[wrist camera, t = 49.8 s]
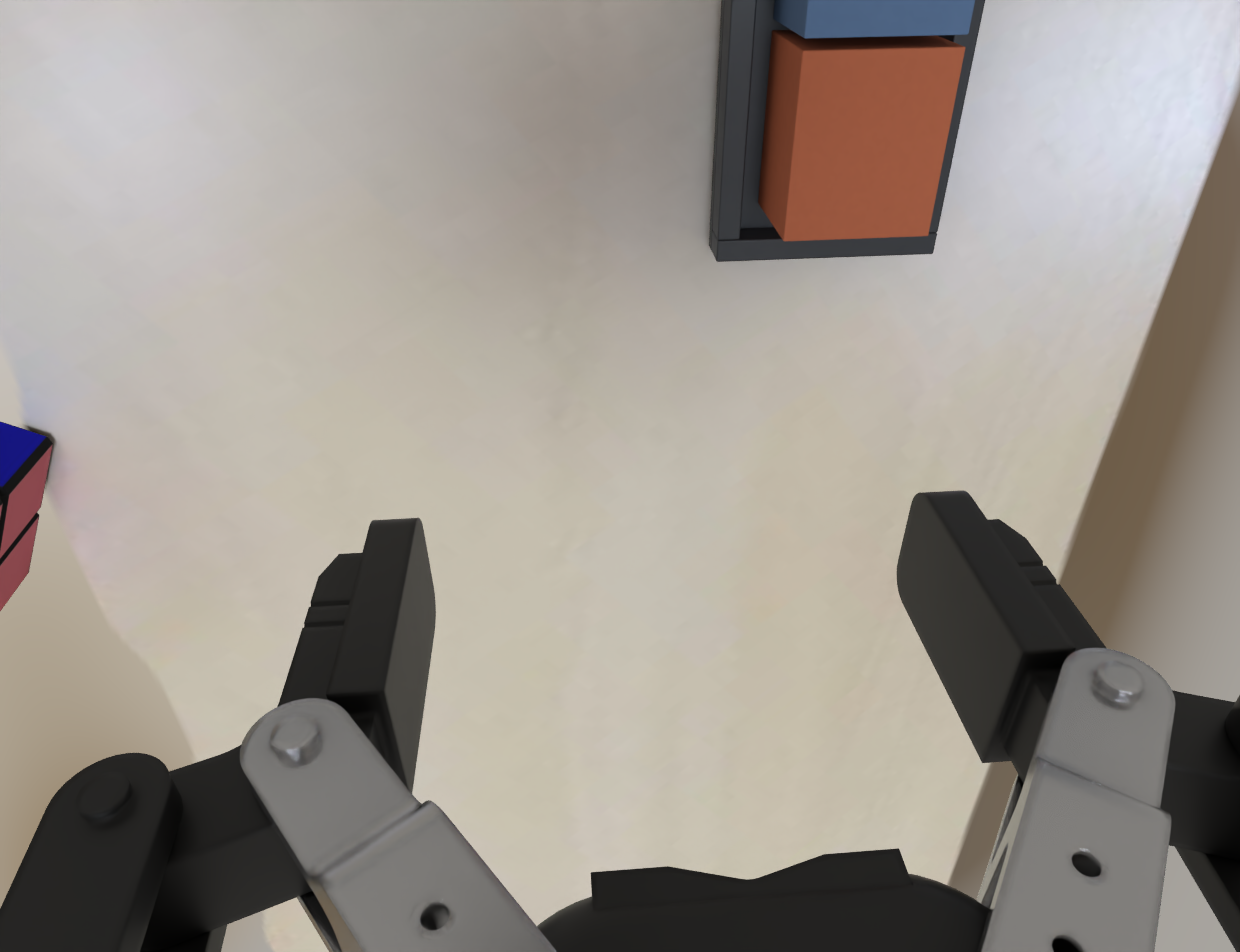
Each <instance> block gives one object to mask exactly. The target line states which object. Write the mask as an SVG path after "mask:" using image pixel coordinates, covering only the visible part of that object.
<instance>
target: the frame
mask: <svg viewBox="0 0 1240 952" xmlns="http://www.w3.org/2000/svg"><path fill="white" fill-rule="evenodd" d="M984 3H985V0H975V3H974V8H973V13H972V19H971V24H970V29H969V33H968V34H967V35H937V36H939V37H942V38H944V39H947V40H949V41H952V42H954V43H957V44H959V45H962V46H964V47H965V53H964V58H963V63H962V68H961V73H960V78H959V83H958V88H957V93H956V98H955V103H954V108H953V113H952V118H951V123H950V128H949V133H948V138H947V143H946V148H945V153H944V158H943V163H942V169H941V174H940V179H939V184H938V189H937V194H936V199H935V204H934V209H933V214H932V219H931V224H930V229H929V234H928V236H916V237H889V238H862V239H835V240H808V241H783V240H782V238H781V237H780V235H779V234H778V232H777V231H776V229H775V228H774V226H773V225H772V223H771V222H770V220H769V219H768V217H767V216H766V214H765V213H764V211H763V210H762V208H761V207H760V205H759V204H758V197H759V185H760V172H761V160H762V148H763V135H764V123H765V111H766V99H767V86H768V74H769V62H770V50H771V37H772V31H773V30H790V29H789V28H787V27H786V26H784V25H782V24H781V23H779V22H777V21H776V20H774V19H773V16H774V4H775V0H722V8H721V27H720V47H719V66H718V85H717V104H716V123H715V142H714V161H713V180H712V200H711V219H710V238H709V246H710V248H711V250H712V252H713V254H714V257H715V259H716V261H718V262H721V261H749V260H776V259H803V258H831V257H858V256H885V255H913V254H932V253H933V250H934V245H935V240H936V236H937V233H936V232H937V231H938V226H939V221H940V216H941V211H942V207H943V202H944V197H945V192H946V187H947V182H948V177H949V173H950V168H951V163H952V158H953V153H954V148H955V144H956V139H957V134H958V129H959V124H960V119H961V114H962V110H963V105H964V100H965V95H966V90H967V85H968V80H969V76H970V71H971V66H972V61H973V56H974V51H975V46H976V42H977V37H978V32H979V27H980V22H981V17H982V13H983V8H984Z"/></svg>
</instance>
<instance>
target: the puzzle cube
mask: <svg viewBox="0 0 1240 952" xmlns="http://www.w3.org/2000/svg"><path fill="white" fill-rule="evenodd" d="M52 445H53V443H52V442H51V440H50V439H49V438H48V437H47V436H43V435H40V434H37V433H34V432H31V431H28V430H25V429H22V428H19V427H16V426H12V425H9V424H6V423H3V422H0V611H1V610H2V608H3V607H4V606H5V604H6V603H7V601H8V600H9V599H10V597H11V596H12V594H13V593H14V592H15V590H16V589H17V588H18V586H19V585H20V583H21V582H22V581H23V580H24V578H25V577H26V575H27V574H28V573H29V567H30V562H31V557H32V552H33V546H34V541H35V535H36V530H37V525H38V520H39V514H38V513H37V511H38V510H39V508H40V507H41V503H42V498H43V493H44V488H45V483H46V477H47V472H48V467H49V461H50V456H51V451H52Z"/></svg>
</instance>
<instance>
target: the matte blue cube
mask: <svg viewBox="0 0 1240 952" xmlns="http://www.w3.org/2000/svg"><path fill="white" fill-rule="evenodd" d="M974 3H975V0H775V4H774V16H773V19H774V20H776V21H777V22H779V23H781V24H782V25H784V26H786V27H787V28H789V29H790V30H792V31H794V32H795V33H797V34H798V35H800V36H802V37H803V38H805V39H808V38H851V37H894V36H937V35H967V34H968V33H969V29H970V24H971V19H972V13H973V8H974Z"/></svg>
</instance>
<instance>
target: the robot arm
mask: <svg viewBox="0 0 1240 952" xmlns="http://www.w3.org/2000/svg"><path fill="white" fill-rule="evenodd" d="M897 585H898V591H899V595H900V598H901V600H902V603H903V605H904V607H905V609H906V611H907V613H908V615H909V617H910V619H911V621H912V623H913V625H914V627H915V629H916V631H917V633H918V635H919V637H920V639H921V641H922V643H923V645H924V647H925V649H926V651H927V653H928V655H929V657H930V659H931V661H932V663H933V665H934V667H935V669H936V671H937V673H938V675H939V677H940V679H941V681H942V683H943V685H944V687H945V689H946V691H947V693H948V695H949V697H950V699H951V701H952V703H953V705H954V707H955V709H956V711H957V713H958V715H959V717H960V719H961V721H962V723H963V725H964V727H965V729H966V731H967V733H968V735H969V737H970V739H971V741H972V743H973V745H974V747H975V749H976V751H977V753H978V755H979V757H980V759H981V761H982V763H989V762H1003V761H1012V763H1013V765H1014V767H1015V769H1016V771H1017V772H1018V775H1017V777H1016V780H1015V782H1014V785H1013V787H1012V791H1011V793H1010V797H1009V800H1008V803H1007V806H1006V809H1005V813H1004V816H1003V819H1002V822H1001V825H1000V829H999V832H998V835H997V838H996V842H995V844H994V848H993V851H992V854H991V857H990V861H989V864H988V867H987V870H986V873H985V876H984V880H983V883H982V885H981V888H980V891H979V894H978V897H977V899H976V900H975V899H974V898H972V897H970V896H968V895H966V894H964V893H962V892H960V891H958V890H956V889H954V888H952V887H950V886H947V885H945V884H942V883H940V882H938V881H935V880H931V879H928V878H924V877H921V876H918V875H913V874H908V872H907V869H906V867H905V864H904V861H903V858H902V856H901V853H900V850H899V849H888V850H875V851H862V852H849V853H836V854H824V855H821V856H819V857H816V858H813V859H810V860H807V861H805V862H802V863H799V864H796V865H793V866H791V867H788V868H785V869H782V870H779V871H777V872H774V873H771V874H768V875H765V876H763V877H760V878H756V879H750V880H745V879H738V878H732V877H726V876H720V875H714V874H708V873H703V872H697V871H691V870H685V869H679V868H673V867H656V868H643V869H630V870H617V871H604V872H591V885H592V897H589V898H586V899H584V900H581V901H578V902H576V903H574V904H572V905H570V906H568V907H566V908H564V909H562V910H560V911H558V912H556V913H555V914H553V915H552V916H550V917H549V918H547V919H546V920H544V921H543V922H542V923H540V924H539V925H538V926H536V925H535V924H534V923H533V921H532V920H531V919H530V918H529V916H528V915H527V914H526V913H525V912H524V910H523V909H522V908H521V907H520V905H519V904H518V903H517V902H516V900H515V899H514V898H513V897H512V896H511V894H510V893H509V892H508V891H507V889H506V888H505V887H504V886H503V884H502V883H501V882H500V881H499V879H498V878H497V877H496V876H495V875H494V873H493V872H492V871H491V870H490V868H489V867H488V866H487V865H486V863H485V862H484V861H483V860H482V859H481V857H480V856H479V855H478V854H477V852H476V851H475V850H474V849H473V847H472V846H471V845H470V844H469V843H468V841H467V840H466V839H465V838H464V836H463V835H462V834H461V833H460V831H459V830H458V829H457V828H456V827H455V825H454V824H453V823H452V822H451V820H450V819H449V818H448V817H447V815H446V814H445V813H444V812H443V811H442V810H441V809H440V808H439V807H438V806H437V805H436V804H435V803H434V802H432V801H429V800H428V801H426V802H424V803H423V804H421V803H420V802H419V801H418V800H417V799H416V798H415V797H414V796H413V795H412V790H413V783H414V776H415V768H416V761H417V754H418V747H419V739H420V732H421V725H422V718H423V711H424V703H425V696H426V689H427V682H428V674H429V667H430V660H431V653H432V646H433V638H434V631H435V618H436V608H435V593H434V586H433V581H432V575H431V569H430V564H429V558H428V553H427V547H426V541H425V536H424V530H423V525H422V522H421V520H420V518H409V519H390V520H373V521H372V522H371V524H370V526H369V530H368V534H367V538H366V541H365V545H364V549H363V553H351V554H339V555H338V556H337V557H336V558H335V559H334V560H333V561H332V563H331V564H330V565H329V566H328V567H327V568H326V569H325V570H324V572H323V573H322V574H321V575H320V576H319V577H318V581H317V584H316V587H315V590H314V593H313V596H312V600H311V607H309V609H308V612H307V616H306V619H305V622H304V624H305V627H304V628H302V631H301V635H300V638H299V641H298V644H297V647H296V651H295V654H294V657H293V660H292V663H291V667H290V670H289V673H288V676H287V679H286V682H285V686H284V689H283V692H282V695H281V698H280V702H279V704H278V707H277V708H275V709H273V710H271V711H270V712H268V713H267V714H265V715H264V716H263V717H261V718H260V719H259V720H258V721H257V722H256V723H255V724H254V725H253V726H252V727H251V729H250V730H249V731H248V733H247V734H246V736H245V738H244V740H243V742H242V745H240V746H238V747H236V748H234V749H232V750H230V751H228V752H226V753H223V754H221V755H218V756H215V757H212V758H209V759H206V760H203V761H200V762H197V763H194V764H191V765H188V766H185V767H182V768H179V769H176V770H173V771H170V772H169V771H168V769H167V768H166V766H165V764H164V763H163V762H161V761H160V760H159V759H157V758H156V757H153V756H151V755H147V754H142V753H126V754H121V755H115V756H112V757H109V758H106V759H103V760H101V761H98V762H96V763H94V764H92V765H90V766H88V767H86V768H85V769H83V770H82V771H80V772H79V773H77V774H76V775H75V776H73V777H72V778H71V779H70V780H68V781H67V782H66V783H65V784H64V785H63V786H62V787H61V788H60V789H59V790H58V792H57V793H56V794H55V795H54V797H53V798H52V799H51V801H50V803H49V805H48V806H47V808H46V810H45V813H44V815H43V817H42V819H41V821H40V824H39V826H38V828H37V830H36V832H35V834H34V837H33V839H32V841H31V843H30V845H29V848H28V850H27V852H26V854H25V856H24V858H23V860H22V863H21V865H20V867H19V869H18V871H17V874H16V876H15V878H14V880H13V883H12V884H11V887H10V889H9V891H8V893H7V895H6V898H5V900H4V902H3V904H2V906H1V908H0V952H221V948H222V944H223V940H224V936H225V932H226V927H227V924H229V923H232V922H234V921H237V920H239V919H242V918H244V917H247V916H250V915H252V914H255V913H257V912H260V911H262V910H265V909H268V908H270V907H273V906H275V905H278V904H280V903H283V902H285V901H288V900H290V899H293V898H296V897H297V899H298V900H299V902H300V904H301V905H302V907H303V909H304V910H305V912H306V914H307V915H308V917H309V919H310V920H311V922H312V924H313V925H314V927H315V929H316V930H317V932H318V934H319V935H320V937H321V939H322V940H323V942H324V944H325V945H326V947H327V949H328V950H329V952H1154V949H1155V942H1156V935H1157V927H1158V919H1159V913H1160V905H1161V897H1162V890H1163V882H1164V876H1165V868H1166V861H1167V853H1168V846H1169V845H1170V846H1175V848H1176V849H1177V851H1178V852H1179V854H1180V856H1181V858H1182V860H1183V861H1184V863H1185V865H1186V866H1187V868H1188V869H1189V871H1190V873H1191V875H1192V876H1193V878H1194V880H1195V882H1196V883H1197V885H1198V886H1199V888H1200V890H1201V891H1202V893H1203V895H1204V897H1205V898H1206V900H1207V902H1208V904H1209V905H1210V907H1211V909H1212V910H1213V912H1214V914H1215V916H1216V917H1217V919H1218V921H1219V922H1220V924H1221V926H1222V927H1223V929H1224V931H1225V933H1226V934H1227V936H1228V938H1229V940H1230V941H1231V943H1232V945H1233V946H1234V948H1235V950H1236V951H1237V952H1240V696H1239V697H1238V699H1237V701H1236V702H1230V701H1225V700H1219V699H1214V698H1208V697H1203V696H1197V695H1192V694H1187V693H1181V692H1177V691H1173V690H1171V688H1170V686H1169V685H1168V683H1167V682H1166V681H1165V680H1164V678H1163V677H1162V676H1161V675H1160V674H1159V673H1158V672H1156V671H1155V670H1154V669H1153V668H1151V667H1150V666H1148V665H1146V664H1145V663H1144V662H1142V661H1140V660H1139V659H1137V658H1135V657H1133V656H1130V655H1128V654H1125V653H1122V652H1119V651H1115V650H1111V649H1107V648H1106V647H1105V646H1104V644H1103V643H1102V641H1101V640H1100V639H1099V637H1098V636H1097V635H1096V633H1095V632H1094V631H1093V629H1092V628H1091V626H1090V625H1089V624H1088V622H1087V621H1086V620H1085V618H1084V617H1083V615H1082V614H1081V613H1080V611H1079V610H1078V609H1077V607H1076V606H1075V605H1074V603H1073V602H1072V600H1071V599H1070V598H1069V596H1068V595H1067V594H1066V592H1065V591H1064V590H1063V588H1062V587H1061V585H1060V584H1059V585H1057V584H1056V579H1055V577H1054V576H1053V575H1052V573H1051V572H1050V570H1049V569H1048V568H1047V566H1043V561H1042V560H1041V558H1040V557H1039V555H1038V554H1037V553H1036V551H1035V550H1034V549H1033V547H1032V546H1031V545H1030V543H1029V542H1028V540H1027V539H1026V538H1025V537H1023V536H1022V535H1020V534H1019V533H1018V532H1016V531H1015V530H1013V529H1012V528H1011V527H1009V526H1008V525H1006V524H1005V523H1004V522H1002V521H1001V520H999V519H995V520H987V519H986V517H985V516H984V514H983V513H982V511H981V510H980V509H979V507H978V506H977V504H976V503H975V501H974V500H973V498H972V497H971V496H970V495H969V493H967V492H966V491H945V492H926V493H918V494H916V495H915V497H914V498H913V501H912V504H911V508H910V512H909V516H908V521H907V525H906V529H905V534H904V538H903V542H902V547H901V551H900V555H899V560H898V564H897Z"/></svg>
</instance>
